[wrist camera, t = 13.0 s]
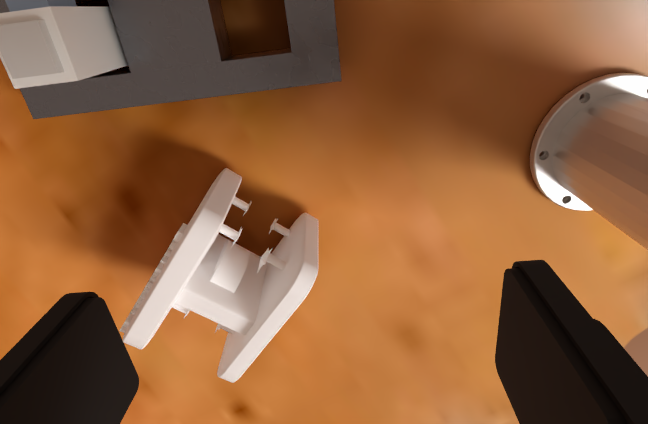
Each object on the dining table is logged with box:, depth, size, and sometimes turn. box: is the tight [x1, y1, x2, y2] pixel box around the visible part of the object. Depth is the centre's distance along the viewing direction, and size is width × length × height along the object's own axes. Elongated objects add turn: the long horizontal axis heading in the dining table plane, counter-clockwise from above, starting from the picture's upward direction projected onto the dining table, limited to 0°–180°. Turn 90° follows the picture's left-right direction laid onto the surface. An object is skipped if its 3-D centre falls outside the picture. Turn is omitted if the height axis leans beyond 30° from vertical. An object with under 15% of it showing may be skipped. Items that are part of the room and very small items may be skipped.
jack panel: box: [0, 0, 341, 119], centre depth 30 cm, size 24×10×4 cm, turn 97°
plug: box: [0, 0, 128, 89], centre depth 27 cm, size 4×5×11 cm
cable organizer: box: [120, 168, 318, 383], centre depth 36 cm, size 15×11×12 cm
